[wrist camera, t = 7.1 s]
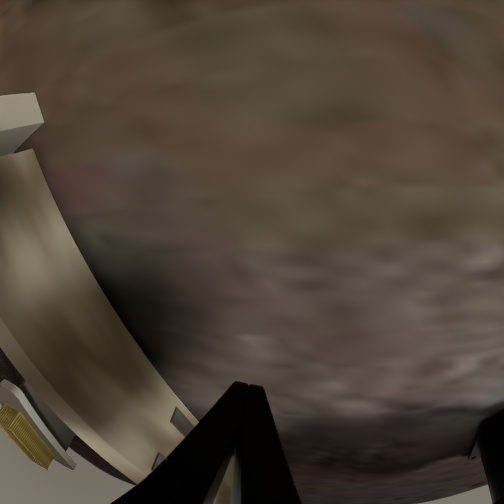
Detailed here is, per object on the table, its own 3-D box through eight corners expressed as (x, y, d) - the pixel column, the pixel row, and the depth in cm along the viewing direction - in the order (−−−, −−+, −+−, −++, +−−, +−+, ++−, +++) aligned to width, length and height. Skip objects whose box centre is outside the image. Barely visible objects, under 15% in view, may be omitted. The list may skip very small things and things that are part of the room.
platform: (50, 420, 23) (22, 465, 17) (-25, 267, 15) (-84, 315, 9) (151, 461, 22) (128, 519, 16) (92, 299, 14) (15, 389, 8)
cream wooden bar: (203, 425, 16) (181, 498, 11) (175, 426, 16) (150, 493, 12) (33, 147, 10) (-61, 180, 5) (12, 168, 10) (-73, 205, 6)
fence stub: (252, 475, 19) (242, 529, 15) (238, 475, 19) (227, 528, 15) (224, 446, 17) (208, 510, 13) (208, 447, 18) (191, 508, 13)
